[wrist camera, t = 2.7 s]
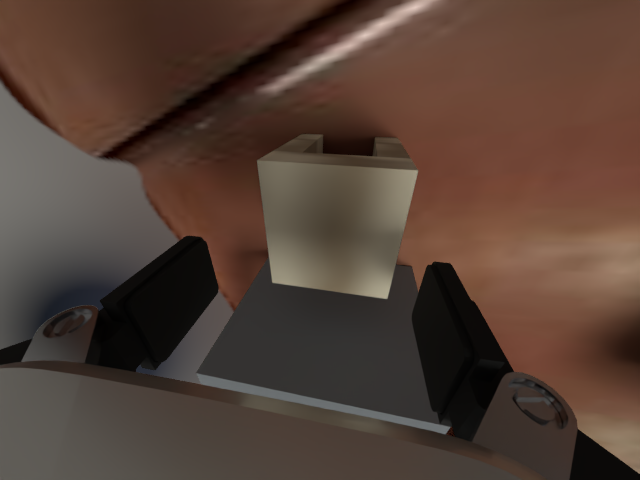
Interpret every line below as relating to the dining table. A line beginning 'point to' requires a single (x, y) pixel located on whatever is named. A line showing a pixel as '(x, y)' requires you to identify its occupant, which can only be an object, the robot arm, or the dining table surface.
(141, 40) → the dining table surface
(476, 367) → the robot arm
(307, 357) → the shelf stand
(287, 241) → the birch clip
